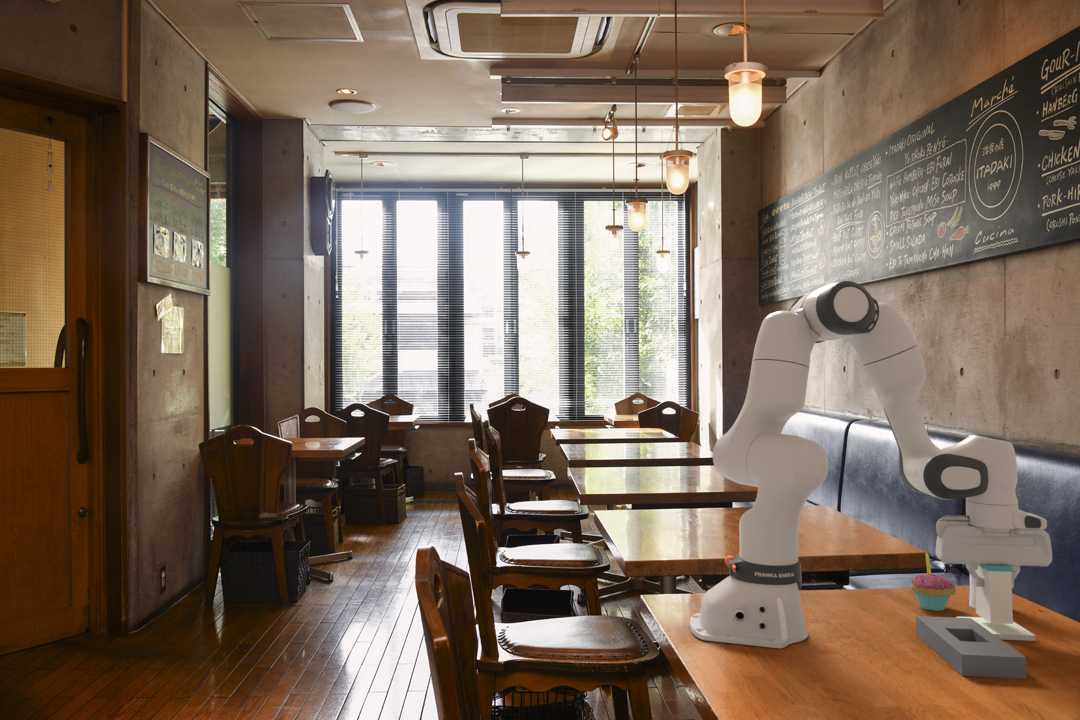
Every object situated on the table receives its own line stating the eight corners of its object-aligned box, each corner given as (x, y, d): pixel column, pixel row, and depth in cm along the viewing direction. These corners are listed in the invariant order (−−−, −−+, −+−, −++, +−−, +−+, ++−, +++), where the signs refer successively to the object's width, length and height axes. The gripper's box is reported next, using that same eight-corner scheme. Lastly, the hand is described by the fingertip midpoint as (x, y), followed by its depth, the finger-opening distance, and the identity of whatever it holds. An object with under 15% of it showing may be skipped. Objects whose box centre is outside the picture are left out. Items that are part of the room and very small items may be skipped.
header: (962, 675, 121) (961, 654, 121) (916, 634, 141) (915, 616, 141) (1026, 678, 120) (1026, 657, 120) (971, 636, 140) (970, 618, 140)
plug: (990, 623, 140) (988, 565, 140) (975, 613, 146) (974, 558, 146) (1013, 623, 139) (1011, 566, 140) (997, 613, 146) (995, 558, 146)
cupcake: (902, 602, 161) (901, 548, 162) (938, 600, 162) (937, 547, 162) (927, 614, 153) (926, 557, 153) (964, 613, 154) (963, 556, 154)
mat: (979, 638, 138) (979, 633, 138) (956, 621, 148) (956, 616, 148) (1035, 640, 137) (1035, 635, 137) (1008, 623, 147) (1008, 618, 147)
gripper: (942, 518, 142) (943, 589, 141) (1056, 520, 139) (1057, 593, 139) (929, 512, 148) (930, 580, 147) (1037, 514, 145) (1039, 584, 145)
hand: (993, 586), depth 143 cm, fingers closed on plug, 4 cm apart
